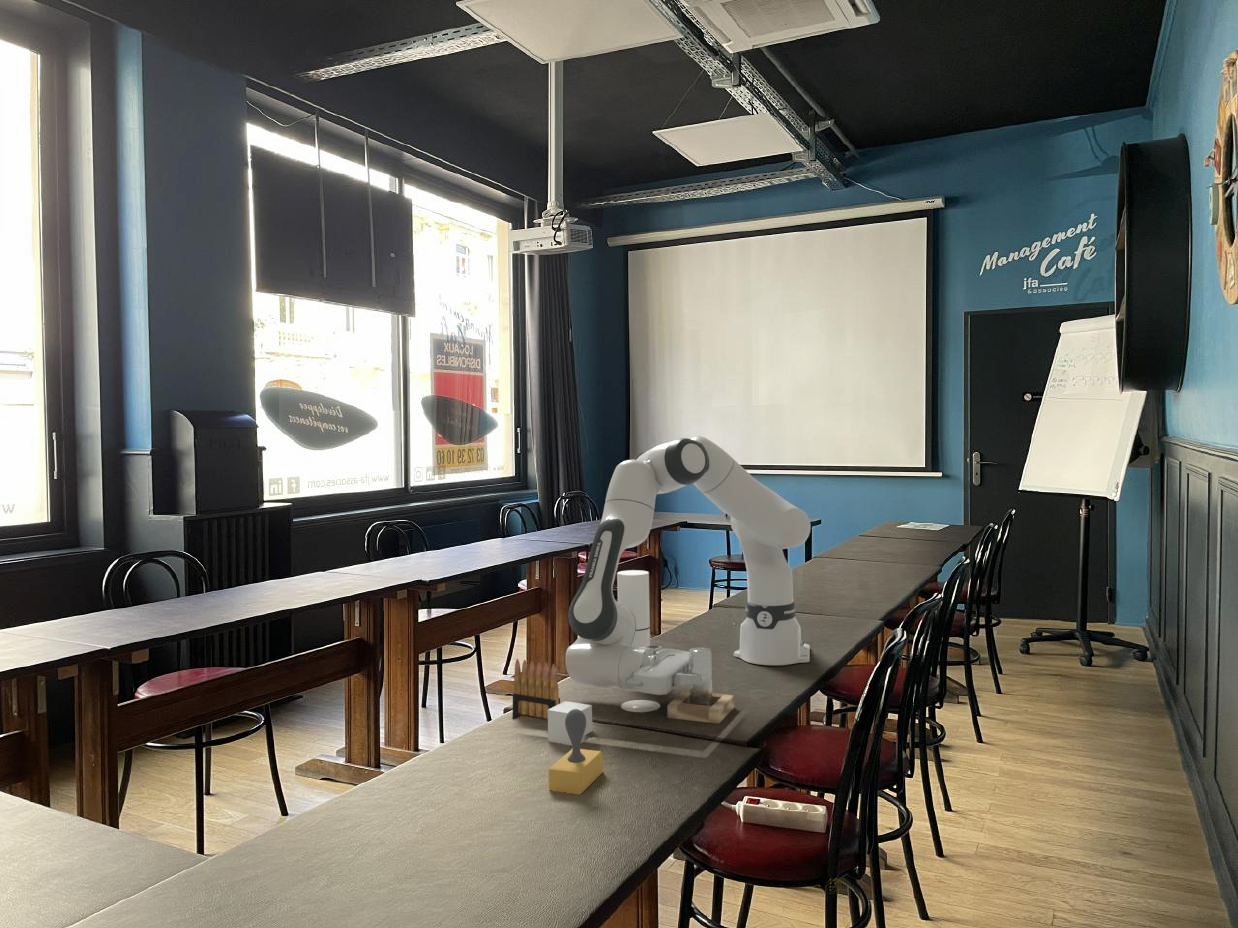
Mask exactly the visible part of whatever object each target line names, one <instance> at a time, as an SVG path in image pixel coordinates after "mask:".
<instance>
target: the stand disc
mask: <svg viewBox="0 0 1238 928" xmlns="http://www.w3.org/2000/svg"><path fill="white" fill-rule="evenodd" d="M620 708H621V709H622V710H625V711H626V712H633V713H646V712H647V713H648V712H649V713H650V712H653V711H656V710H659V708H661V704H660V703H659V702H657V701H653V700H650V699H649V700H647V699H635V700H629V701H625V702H624V703H622V704H621V705H620Z"/></svg>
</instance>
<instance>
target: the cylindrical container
mask: <svg viewBox="0 0 1238 928" xmlns="http://www.w3.org/2000/svg"><path fill="white" fill-rule="evenodd" d="M616 578H617V602H619V603H620V604H622V605H623V606H625V607H626V608H627V609H629V610H630V611H631V612H632V614H633V615H634V617H635V621H636V630H635V635H634V638H633V642H632V645H631V647H648V646H651V621H650V618H651V617H650V612H651V611H650V572H649V571H646V570H640V569H639V570H638V569H637V570H635V569H631V570H630V569H629V570H621V571H618V572H616Z"/></svg>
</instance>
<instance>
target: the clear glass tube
mask: <svg viewBox="0 0 1238 928" xmlns="http://www.w3.org/2000/svg"><path fill="white" fill-rule="evenodd" d="M688 652H689V674H693V673H695V674H700V675H701V682H700V683H699V684H698V685H695V684H689V691H690V704H695V705H704V706H712V693H713V676H712V675H713V673H712V672H713V671H712V670H713V669H712V665H713V664H712V663H713V662H712V657H713V656H712V649H711V648H708V647H692V648H690V649H689V650H688Z"/></svg>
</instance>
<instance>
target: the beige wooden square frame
mask: <svg viewBox="0 0 1238 928" xmlns="http://www.w3.org/2000/svg"><path fill="white" fill-rule="evenodd" d="M666 706H667V707H666V708H667V709H666V710H667V718H668V719H675V720H685V721H691V722H692V721H693V722H701V723H702V722H703V723H710V724H711V723H712V724H721V722H722V721H723V720H724V719H725V718H726V717H727V716H728V715H729V714H730V713H731V712H732V711H733V710H734V708H735V695H734V694H727V693H726V694H723V693H716V692H715V693H714V692H712V706H704V705H695V704H690V690H684V691H682V692H681V693H680V694H679V695H677V696H676V697H674V699H673V700H671V701H670V702H669V703H668V704H666Z"/></svg>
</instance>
